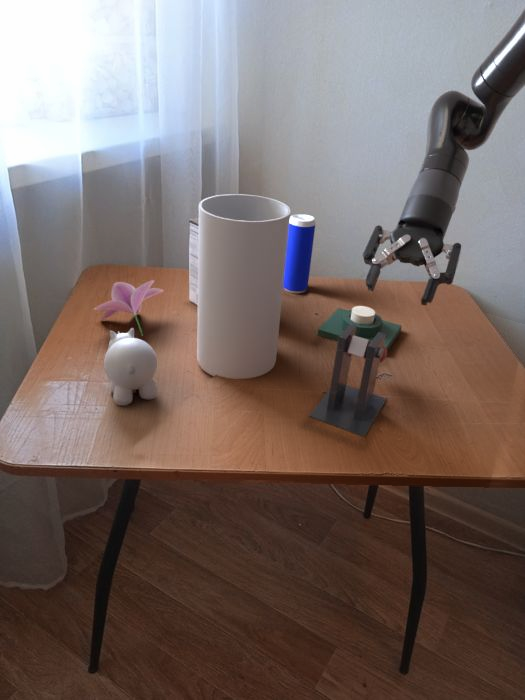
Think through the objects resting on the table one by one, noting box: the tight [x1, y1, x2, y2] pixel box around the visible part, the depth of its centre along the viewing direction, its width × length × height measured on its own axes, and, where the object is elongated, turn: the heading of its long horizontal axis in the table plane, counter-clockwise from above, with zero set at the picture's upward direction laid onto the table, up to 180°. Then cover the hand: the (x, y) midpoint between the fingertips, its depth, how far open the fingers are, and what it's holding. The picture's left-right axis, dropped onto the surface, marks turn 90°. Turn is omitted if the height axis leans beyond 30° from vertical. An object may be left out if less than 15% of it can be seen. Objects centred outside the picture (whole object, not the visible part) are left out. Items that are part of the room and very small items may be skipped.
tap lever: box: [348, 335, 388, 364], centre depth 79 cm, size 14×4×4 cm, turn 152°
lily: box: [92, 279, 165, 337], centre depth 95 cm, size 12×12×10 cm
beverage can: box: [283, 213, 316, 294], centre depth 111 cm, size 5×5×15 cm
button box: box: [317, 307, 402, 352], centre depth 98 cm, size 12×10×4 cm
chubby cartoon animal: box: [103, 327, 159, 406], centre depth 80 cm, size 7×12×8 cm, turn 22°
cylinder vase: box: [196, 193, 291, 380], centre depth 83 cm, size 12×12×25 cm
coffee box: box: [188, 217, 199, 306], centre depth 103 cm, size 9×6×16 cm
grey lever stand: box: [308, 324, 387, 438], centre depth 76 cm, size 10×8×13 cm
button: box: [350, 305, 376, 325], centre depth 97 cm, size 4×4×2 cm
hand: (396, 296), depth 87 cm, fingers open, 8 cm apart
